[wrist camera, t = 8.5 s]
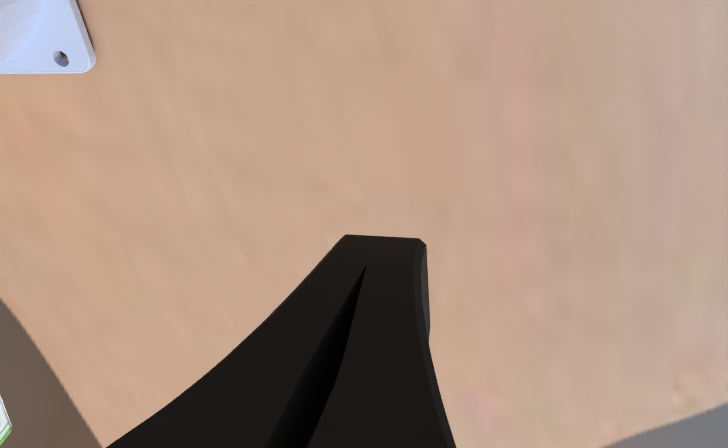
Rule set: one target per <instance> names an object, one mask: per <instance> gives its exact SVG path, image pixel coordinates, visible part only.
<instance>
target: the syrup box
mask: <svg viewBox="0 0 728 448" xmlns="http://www.w3.org/2000/svg"><path fill="white" fill-rule="evenodd" d="M11 427H12V425H11V422H10V419H9V416H8V414H7V411H6V409H5V407H4V403H3V400H2V398H1V396H0V445H1V444H2V443H3V441H4V440H5V439H6V437H7V436H8V435H9V434H10V432H11Z"/></svg>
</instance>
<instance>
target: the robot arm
mask: <svg viewBox="0 0 728 448" xmlns="http://www.w3.org/2000/svg"><path fill="white" fill-rule="evenodd" d="M60 51H62V52H63V53H64V54H66V56H67V57H68V60H69V61H67V60H65V59H64V58H63V57H62V55H61V52H60ZM95 62H96V57H95V53H94V50H93V47H92V45H91V42H90V39H89V36H88V33H87V31H86V28H85V25H84V22H83V19H82V16H81V14H80V11H79V8H78V5H77V2H76V0H0V74H29V73H84V72H87V71H88V70H90V69H91V68H92V67H93V66H94V65H95ZM429 333H430V311H429V291H428V270H427V249H426V244H425V243H424V242H423V241H421V240H420V239H419V238H401V237H383V236H364V235H345V236H343V237H342V238H341V239H340V240H339V241H338V242H337V243H336V244H335V246H334V247H333V248H332V249H331V250H330V251H329V252H328V253H327V255H326V256H325V257H324V258H323V259H322V260H321V261H320V262H319V264H318V265H317V266H316V267H315V268H314V269H313V270H312V271H311V272H310V274H309V275H308V276H307V277H306V278H305V279H304V280H303V281H302V282H301V283H300V284H299V286H298V287H297V288H296V289H295V290H294V291H293V292H292V293H291V294H290V295H289V296H288V297H287V298H286V299H285V300H284V301H283V302H282V303H281V304H280V305H279V306H278V307H277V308H276V309H275V310H274V311H273V313H272V314H271V315H270V316H269V317H268V318H267V319H266V320H265V321H264V322H263V323H262V324H261V325H260V326H258V327H257V328H256V329H255V330H254V331H253V332H252V333H251V334H250V335H249V336H248V337H247V338H246V339H245V340H243V341H242V342H241V343H240V344H239V345H238V346H237V347H236V348H235V349H234V350H233V351H232V352H231V353H230V354H228V355H227V356H226V357H225V358H224V359H223V360H222V361H221V362H219V363H218V364H217V365H216V366H215V367H214V368H212V369H211V370H210V371H209V372H208V373H207V374H205V375H204V376H203V377H202V378H201V379H199V380H198V381H197V382H196V383H195V384H193V385H192V386H191V387H189V388H188V389H187V390H186V391H184V392H183V393H182V394H181V395H179V396H178V397H177V398H176V399H174V400H173V401H172V402H170V403H169V404H168V405H166V406H165V407H164V408H162V409H161V410H159V411H158V412H157V413H155V414H154V415H153V416H151V417H150V418H148V419H147V420H145V421H144V422H142V423H141V424H139V425H138V426H137V427H135V428H134V429H132V430H131V431H129V432H128V433H126V434H125V435H124V436H122V437H121V438H119V439H118V440H116V441H115V442H113V443H112V444H110V445H109V446H108V447H106V448H456V445H455V442H454V439H453V436H452V433H451V429H450V426H449V423H448V420H447V416H446V413H445V409H444V406H443V402H442V399H441V395H440V391H439V387H438V383H437V379H436V375H435V371H434V366H433V362H432V358H431V353H430V348H429Z"/></svg>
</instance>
